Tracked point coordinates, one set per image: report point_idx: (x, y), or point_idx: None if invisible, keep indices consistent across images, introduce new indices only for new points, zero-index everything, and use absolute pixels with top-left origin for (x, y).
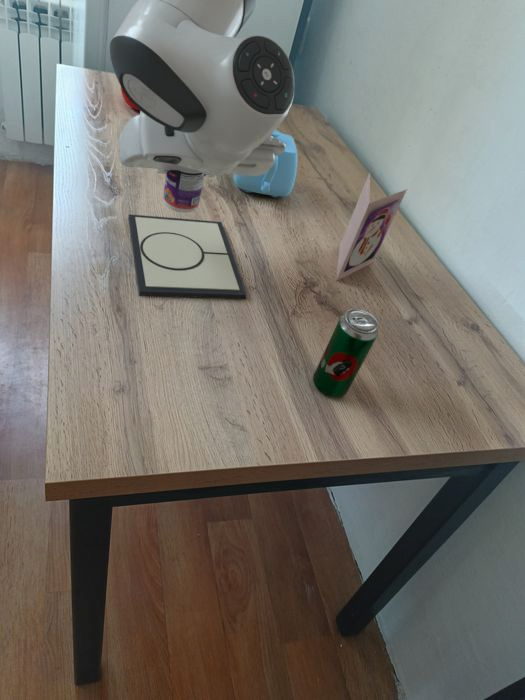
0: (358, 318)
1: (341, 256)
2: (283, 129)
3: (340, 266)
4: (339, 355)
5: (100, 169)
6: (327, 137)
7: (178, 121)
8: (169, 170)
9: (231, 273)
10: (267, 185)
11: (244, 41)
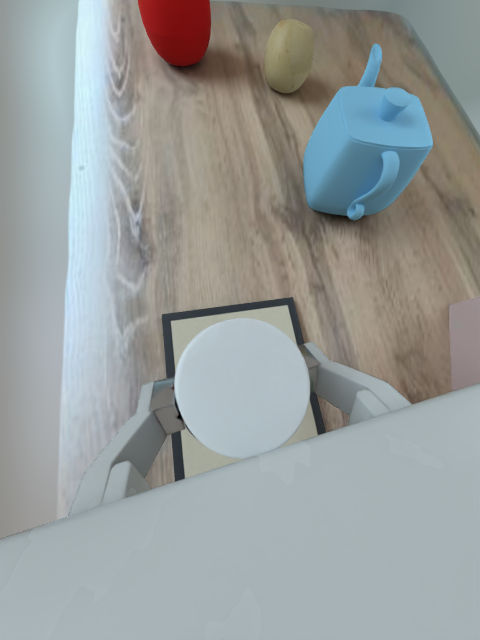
0: None
1: (467, 349)
2: (359, 63)
3: (467, 374)
4: None
5: (125, 208)
6: (414, 67)
7: None
8: (182, 429)
9: (312, 430)
10: (361, 212)
11: None
